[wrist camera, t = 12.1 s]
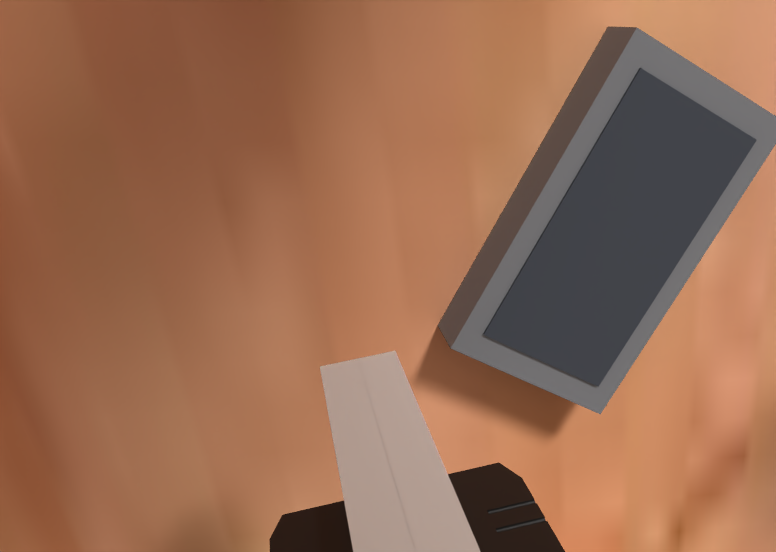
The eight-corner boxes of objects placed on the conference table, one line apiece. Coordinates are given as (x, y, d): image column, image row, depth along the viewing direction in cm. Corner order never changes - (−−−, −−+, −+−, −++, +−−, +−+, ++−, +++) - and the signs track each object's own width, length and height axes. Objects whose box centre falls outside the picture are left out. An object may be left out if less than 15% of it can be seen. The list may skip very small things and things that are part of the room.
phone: (603, 26, 21) (638, 27, 19) (745, 115, 23) (790, 124, 21) (435, 322, 23) (451, 349, 21) (575, 384, 25) (601, 415, 23)
